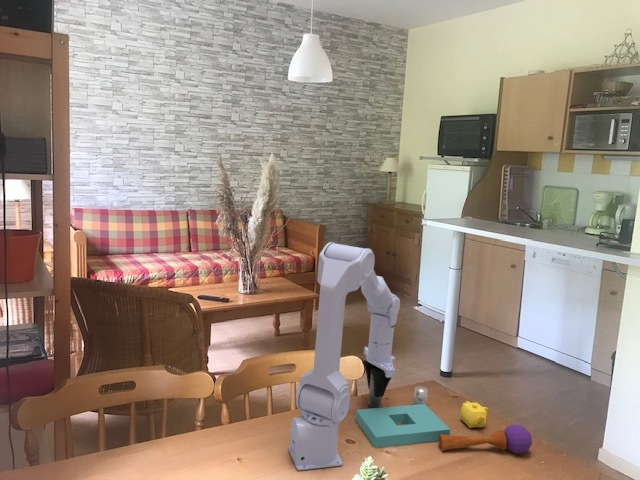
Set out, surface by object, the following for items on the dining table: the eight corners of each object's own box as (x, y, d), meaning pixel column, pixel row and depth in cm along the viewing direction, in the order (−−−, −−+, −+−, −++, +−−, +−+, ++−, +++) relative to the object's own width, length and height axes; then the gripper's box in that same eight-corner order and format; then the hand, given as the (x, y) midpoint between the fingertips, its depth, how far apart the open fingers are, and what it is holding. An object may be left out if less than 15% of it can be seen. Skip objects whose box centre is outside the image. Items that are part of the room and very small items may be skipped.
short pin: (416, 409, 131) (418, 392, 131) (411, 403, 134) (412, 386, 134) (428, 408, 132) (430, 391, 132) (422, 402, 135) (424, 385, 135)
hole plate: (375, 447, 113) (376, 437, 112) (355, 419, 124) (356, 409, 124) (449, 439, 118) (450, 429, 118) (423, 413, 129) (424, 403, 129)
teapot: (494, 433, 123) (497, 412, 122) (472, 434, 121) (475, 413, 120) (477, 415, 130) (480, 396, 129) (456, 416, 129) (458, 397, 128)
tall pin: (371, 407, 129) (374, 372, 127) (366, 401, 132) (369, 367, 130) (383, 406, 130) (386, 372, 128) (378, 400, 133) (381, 366, 131)
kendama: (436, 424, 117) (523, 420, 118) (437, 451, 117) (524, 446, 118) (444, 433, 111) (536, 429, 112) (445, 462, 111) (537, 457, 112)
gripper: (409, 350, 122) (403, 405, 124) (383, 329, 136) (379, 379, 138) (381, 352, 120) (375, 407, 122) (358, 330, 134) (353, 380, 136)
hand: (375, 392), depth 130 cm, fingers closed on tall pin, 3 cm apart
